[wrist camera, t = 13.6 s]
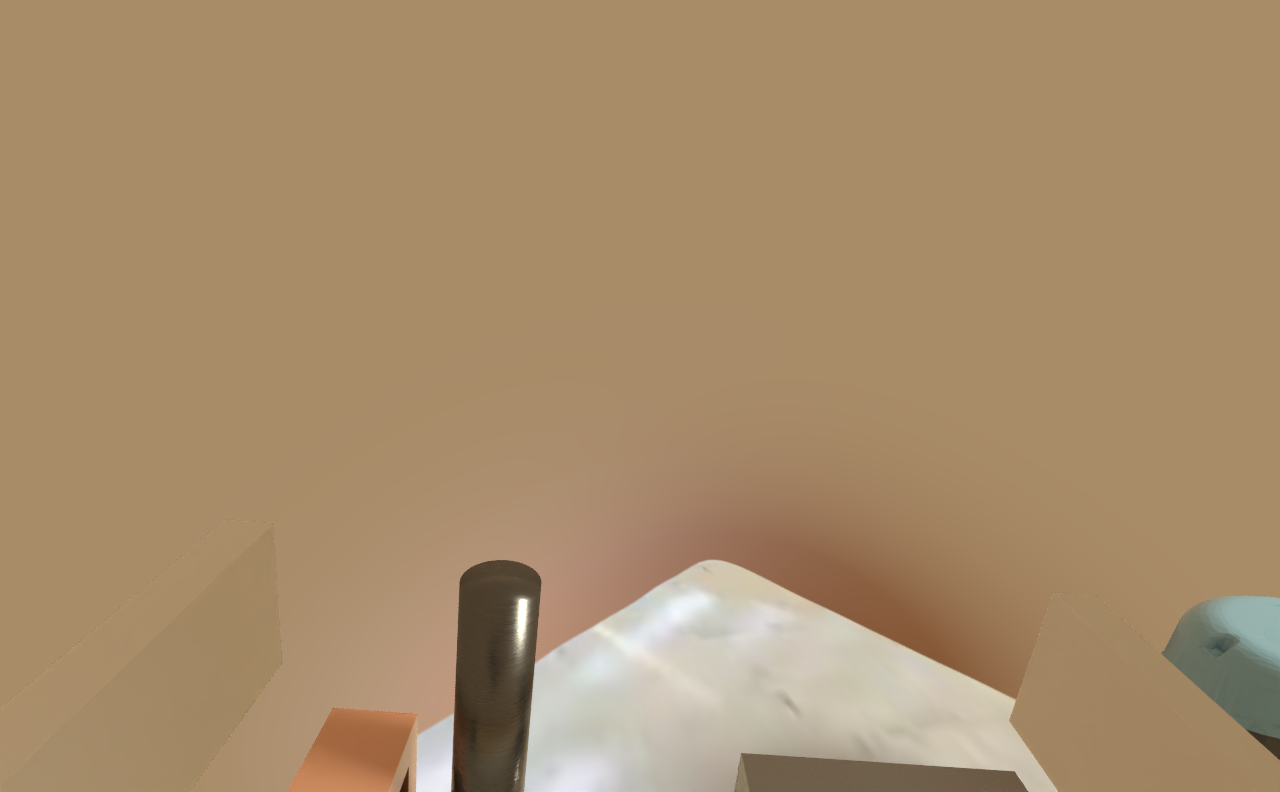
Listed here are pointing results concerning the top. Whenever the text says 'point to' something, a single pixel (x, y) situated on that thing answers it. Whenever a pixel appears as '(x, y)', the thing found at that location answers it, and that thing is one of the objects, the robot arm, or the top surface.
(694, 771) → the top surface
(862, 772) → the box on wooden plank
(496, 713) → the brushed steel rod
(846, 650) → the top surface
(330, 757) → the socket
